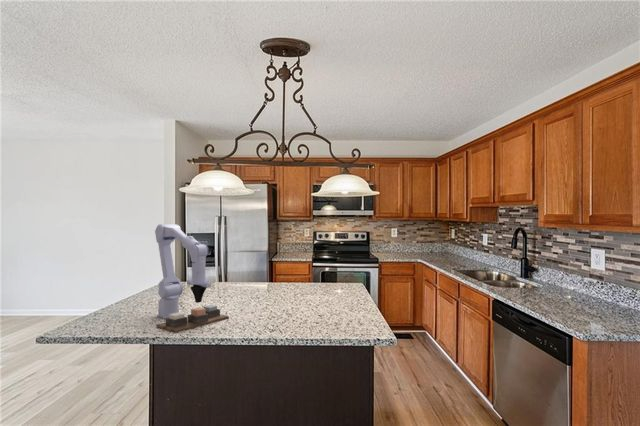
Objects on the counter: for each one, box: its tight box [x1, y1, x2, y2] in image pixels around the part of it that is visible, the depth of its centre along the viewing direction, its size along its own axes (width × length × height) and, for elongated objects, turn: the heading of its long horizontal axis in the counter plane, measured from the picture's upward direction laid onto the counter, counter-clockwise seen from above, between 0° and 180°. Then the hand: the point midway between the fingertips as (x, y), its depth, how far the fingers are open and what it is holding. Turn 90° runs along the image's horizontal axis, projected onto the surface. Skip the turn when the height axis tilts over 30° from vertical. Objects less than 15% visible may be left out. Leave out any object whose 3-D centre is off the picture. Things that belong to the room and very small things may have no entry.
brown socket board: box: [155, 308, 230, 334], centre depth 172 cm, size 14×28×4 cm, turn 145°
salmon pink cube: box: [190, 307, 206, 317], centre depth 170 cm, size 4×4×4 cm
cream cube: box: [169, 312, 185, 320], centre depth 164 cm, size 4×4×4 cm
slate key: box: [203, 304, 218, 311], centre depth 179 cm, size 4×4×4 cm
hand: (198, 302), depth 170 cm, fingers closed
